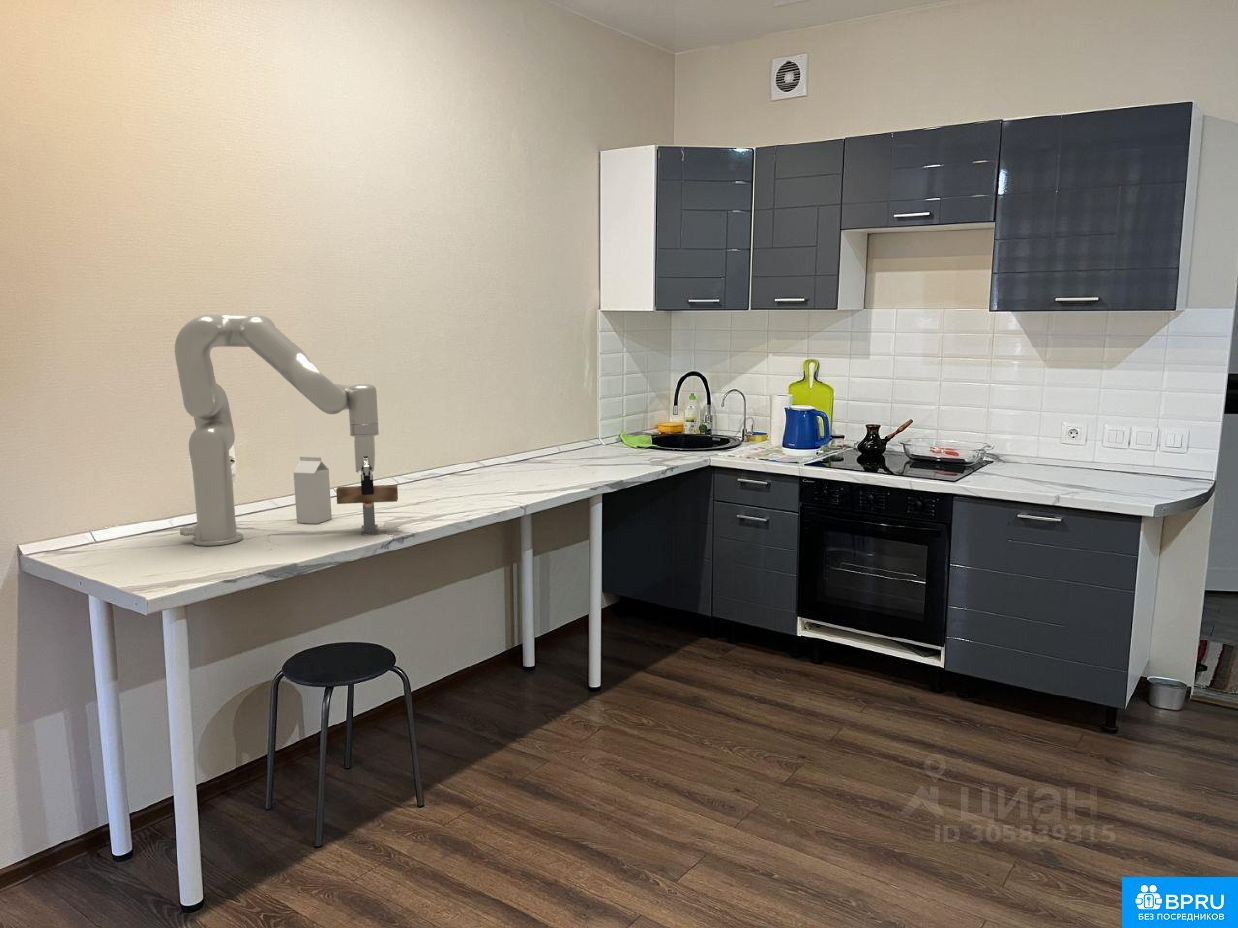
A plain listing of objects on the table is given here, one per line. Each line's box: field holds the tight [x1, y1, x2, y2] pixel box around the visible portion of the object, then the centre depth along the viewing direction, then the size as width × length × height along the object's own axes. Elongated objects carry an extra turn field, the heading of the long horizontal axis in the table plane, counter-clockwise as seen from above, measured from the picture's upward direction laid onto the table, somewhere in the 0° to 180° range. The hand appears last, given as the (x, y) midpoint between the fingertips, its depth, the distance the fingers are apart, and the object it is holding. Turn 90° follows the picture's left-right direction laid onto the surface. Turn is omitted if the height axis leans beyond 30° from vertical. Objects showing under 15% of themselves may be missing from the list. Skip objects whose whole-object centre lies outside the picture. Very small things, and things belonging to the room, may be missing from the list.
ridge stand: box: [361, 502, 379, 536], centre depth 262 cm, size 4×7×9 cm, turn 15°
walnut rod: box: [335, 484, 399, 505], centre depth 261 cm, size 16×4×4 cm, turn 99°
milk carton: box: [293, 456, 333, 525], centre depth 276 cm, size 7×7×19 cm
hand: (367, 491), depth 261 cm, fingers open, 9 cm apart
